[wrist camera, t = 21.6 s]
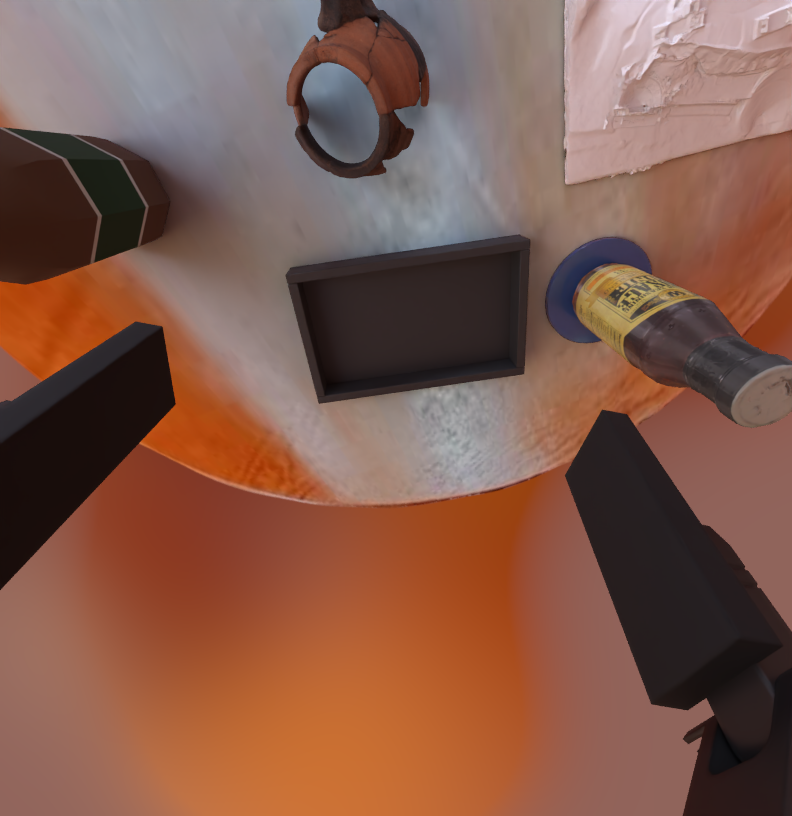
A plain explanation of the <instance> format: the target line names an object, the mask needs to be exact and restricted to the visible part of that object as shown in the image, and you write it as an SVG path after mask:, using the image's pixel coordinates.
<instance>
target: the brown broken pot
mask: <svg viewBox="0 0 792 816" xmlns="http://www.w3.org/2000/svg"><path fill="white" fill-rule="evenodd" d="M374 22H376V23H378V27H376V25H375V23H374ZM318 27H319V29H320V30H321V31H324V32H326V33H327V34H325V35H324V38H323V39H322V40H321V41H319V40H318V38H317V37H316V36H315V35H314V36H313V37H311V39H310V40H309V42H308V43H307V44H306V46H305V47H304V50H303V51H302V53H301V55H300V56H299V59H298V60H297V62H296V63H295V65H294V66H293V68H292V71H291V73H290V76H289V80H288V83H287V104H288V105H289V106H293V108H294V113H295V117H296V119H297V122H298V124H299V126H298V127H297V129H296V132H295V136H296V138H297V140H298V142H299V143H300V145H301V147H302V148H303V149H304V151H305V152H306V153H307V154H308V155H309V157H310V158H311V159H312V160H313V161H314V162H315V163H316V164H317V165H318V166H320V167H321V168H323V169H324V170H326V171H328V172H331V173H332V174H334V175H337V176H339V177H345V178H358V177H363V176H373V175H380V174H383V173H386V168H385V167H384V166H383V163H382V161H383V160H389V159H392V158H394V157H396V156H397V155H399V153H400V152H401V151H402V150H404V149H407V148H408V147H409V145H410V143H411V141H412V138H413V135H414V130H413V129H411V128H407V129H406V127H405V125H404V124H403V123H402V122H401V121H400V120H399V118H398V117H397V115H396V114H395V112H394V110H396V109H401V108H404V107H409V106H415V105H416V104H417V102H418V100H419V97H420V86H419V82H421V106H423V107H425V106H427V104H428V100H429V74H428V69H427V65H426V61H425V57H424V55H423V52H422V50H421V48H420V46H419V44H418V43H417V41H416V40H415V39H414V37H413V36H412V35H411V34H410V33H409V32H408V31H407V30H406V29H405V28H404V27H402V26H401V25H399V24H398V23H397V22H396V21H395V20H394V19H393V18H392V17H390V16H389V15H388V14H387V13H386V12H385V11H384V10H378V9H377V8H376V6H375V4H374V3H373V1H372V0H321V11H320V14H319V17H318ZM326 62H330V63H336V64H339V65H342V66H344V67H346V68H347V69H349V70H350V71H352V72H353V73H354V74H356V75H357V76H358V77H359V78H360V79H361V81H362V82H363V83H364V84H365V85H366V87H367V89H368V90H369V92H370V94H371V96H372V98H373V100H374V103H375V106H376V109H377V113H378V115H379V138H378V142H377V145H376V147H375V149H374V151H373V153H372V154H371V155H370V157H369V158H368V159H366V160H364V161H362V162H359V163H344V162H342V161H339V160H337V159H335V158H334V157H332V156H331V155H329V154H328V153H327V152H325V151H324V150H323V149H322V148H321V147H320V146H319V144H318V143H317V142H316V140H315V139H314V137H313V136H312V134H311V132H310V130H309V128H308V126H307V124H308V120H309V110H308V108H307V105H306V102H305V100H304V98H303V96H302V88H303V84H304V80H305V78H306V76H307V75H308V73H309V72H310V71H311V70H312V69H313V68H314V67H315V66H318V65H320V64H321V63H326Z"/></svg>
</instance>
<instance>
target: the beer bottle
mask: <svg viewBox="0 0 792 816" xmlns="http://www.w3.org/2000/svg"><path fill="white" fill-rule="evenodd" d="M169 204H170V201H169V199H168V197H167V195H166V193H165V191H164V189H163V188H162V186H161V184H160V182H159V180H158V178H157V176H156V175H155V173H154V171H153V169H152V167H151V165H150V163H149V161H147V160H145V159H143V158H141V157H139V156H137V155H135V154H133V153H131V152H130V151H128V150H126V149H124V148H122V147H120V146H118V145H116V144H114V143H112V142H110V141H108V140H106V139H101V138H97V137H90V136H80V135H71V134H61V133H51V132H41V131H31V130H22V129H12V128H2V127H0V281H2V282H10V283H18V284H30V283H34V282H38V281H42V280H47V279H50V278H53V277H55V276H58V275H61V274H64V273H67V272H69V271H72V270H75V269H78V268H81V267H83V266H86V265H89V264H92V263H95V262H97V261H100V260H103V259H105V258H108V257H111V256H114V255H116V254H119V253H122V252H124V251H127V250H130V249H133V248H135V247H138V246H141V245H144V244H146V243H149V242H152V241H154V240H156V239H158V238H160V237H162V234H163V230H164V225H165V221H166V217H167V213H168V209H169Z"/></svg>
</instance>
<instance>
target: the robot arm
mask: <svg viewBox="0 0 792 816" xmlns="http://www.w3.org/2000/svg"><path fill="white" fill-rule="evenodd" d="M175 404H176V403H175V397H174V392H173V386H172V380H171V374H170V368H169V362H168V356H167V351H166V345H165V339H164V333H163V327H162V326H156V325H151V324H146V323H140V322H134V323H133V324H131V325H130V326H128V327H127V328H125V329H123V330H122V331H120V332H119V333H117V334H116V335H114V336H113V337H111V338H109V339H108V340H106V341H105V342H103V343H102V344H100V345H99V346H97V347H95V348H94V349H92V350H91V351H89V352H88V353H86V354H84V355H83V356H81V357H80V358H78V359H77V360H75V361H74V362H72V363H70V364H69V365H67V366H66V367H64V368H63V369H61V370H60V371H58V372H56V373H55V374H53V375H52V376H50V377H49V378H47V379H45V380H44V381H42V382H41V383H39V384H38V385H36V386H35V387H33V388H31V389H30V390H28V391H27V392H25V393H24V394H22V395H21V396H19V397H18V398H16V399H14V400H13V401H8V400H6V401H4V402H1V403H0V590H1V589H2V588H3V587H4V585H5V584H6V583H7V582H8V581H9V580H10V579H11V578H12V577H13V576H14V575H15V574H16V573H17V572H18V571H19V570H20V569H21V567H22V566H23V565H24V564H25V563H26V562H27V561H28V560H29V559H30V558H31V557H32V556H33V555H34V554H35V553H36V552H37V550H39V548H40V547H41V546H42V545H43V544H44V543H45V542H46V541H47V540H48V539H49V538H50V537H51V536H52V535H53V534H54V532H55V531H56V530H57V529H58V528H59V527H60V526H61V525H62V524H63V523H64V522H65V521H66V520H67V518H69V517H70V515H72V513H73V512H74V511H75V510H76V509H77V508H78V507H79V506H80V505H81V504H82V503H83V502H84V501H85V500H86V499H87V498H88V496H89V495H90V494H91V493H92V492H93V491H94V490H95V489H96V488H97V487H98V486H99V485H100V484H101V483H102V482H103V481H104V480H105V478H107V476H108V475H109V474H110V473H111V472H112V471H113V470H114V469H115V468H116V467H117V466H118V465H119V464H120V463H121V462H122V460H123V459H124V458H125V457H126V456H127V455H128V454H129V453H130V452H131V451H132V450H133V449H134V448H135V447H136V446H137V445H138V444H139V443H140V441H141V440H142V439H143V438H144V437H145V436H146V435H147V434H148V433H149V432H150V431H151V430H152V429H153V428H154V427H155V426H156V425H157V423H158V422H159V421H160V420H161V419H162V418H163V417H164V416H165V415H166V414H167V413H168V412H169V411H170V410H171V409H172V408H173V407H174V405H175ZM565 477H566V479H567V482H568V485H569V487H570V490H571V493H572V495H573V498H574V501H575V503H576V506H577V509H578V511H579V514H580V517H581V519H582V522H583V524H584V527H585V530H586V532H587V535H588V538H589V540H590V543H591V546H592V548H593V551H594V554H595V556H596V559H597V562H598V564H599V567H600V569H601V572H602V575H603V577H604V580H605V583H606V585H607V588H608V590H609V593H610V596H611V599H612V601H613V604H614V606H615V609H616V612H617V614H618V617H619V620H620V622H621V625H622V627H623V630H624V633H625V636H626V638H627V641H628V644H629V646H630V649H631V652H632V654H633V657H634V659H635V662H636V665H637V667H638V670H639V673H640V675H641V678H642V680H643V683H644V685H645V688H646V691H647V694H648V696H649V699H650V701H651V704H653V705H659V706H665V707H671V708H677V709H683V710H689V709H690V708H692V707H693V706H695V705H696V704H698V703H699V702H701V701H702V700H704V699H705V698H707V700H708V702H709V704H710V706H711V708H712V710H713V712H714V714H715V715H714V716H712V717H711V718H709V719H708V720H706V721H704V722H703V723H701V724H699V725H698V726H696V727H695V728H693V729H691V730H690V731H688V732H687V734H686V735H685V736H684V738H683V740H684V741H686V742H687V743H688V744H689V743H691V742H693V741H695V740H696V739H698V738H700V737H702V740H701V744H700V748H699V750H698V751H697V752H698V756H697V760H696V764H695V768H694V772H693V776H692V780H691V784H690V788H689V793H688V797H687V801H686V805H685V809H684V813H683V816H792V632H791V630H790V629H789V628H788V626H787V625H786V623H785V622H784V620H783V619H782V618H781V616H780V615H779V613H778V612H777V611H776V609H775V608H774V606H773V605H772V604H771V602H770V601H769V599H768V598H767V596H766V595H765V594H764V592H763V591H762V590H761V588H758V587H757V582H756V581H755V580H754V578H753V577H752V575H751V574H750V573H749V571H747V570H745V569H744V568H745V566H744V564H743V563H742V561H741V560H740V559H739V557H738V556H737V554H736V553H735V552H734V550H733V549H732V547H731V546H730V545H729V544H728V543H727V542H726V541H725V540H724V539H723V538H722V537H720V536H719V535H718V534H717V533H716V532H715V531H714V530H713V529H712V528H711V527H710V526H706V525H702V524H701V523H700V521H699V520H698V519H697V517H696V516H695V514H694V513H693V511H692V510H691V509H690V507H689V505H688V504H687V503H686V501H685V499H684V498H683V496H682V495H681V493H680V492H679V490H678V489H677V488H676V486H675V485H674V483H673V482H672V480H671V479H670V477H669V476H668V474H667V473H666V471H665V470H664V468H663V467H662V465H661V464H660V462H659V461H658V459H657V458H656V457H655V455H654V454H653V452H652V451H651V449H650V448H649V446H648V445H647V443H646V442H645V440H644V439H643V437H642V436H641V434H640V433H639V431H638V430H637V428H636V427H635V425H634V424H633V423H632V421H631V420H630V418H629V417H628V415H627V414H622V413H617V412H612V411H606V410H602V411H601V413H600V415H599V416H598V418H597V420H596V422H595V423H594V425H593V427H592V429H591V430H590V432H589V434H588V436H587V438H586V439H585V441H584V443H583V445H582V446H581V448H580V450H579V452H578V453H577V455H576V457H575V459H574V460H573V462H572V464H571V466H570V468H569V469H568V471H567V473H566V475H565Z"/></svg>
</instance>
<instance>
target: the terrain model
mask: <svg viewBox="0 0 792 816" xmlns="http://www.w3.org/2000/svg"><path fill="white" fill-rule="evenodd" d="M564 16H565V19H564V24H565V25H564V26H565V31H564V35H565V36H564V37H565V39H564V40H565V51H564V52H565V53H564V56H565V57H564V61H565V66H564V86H565V87H564V88H565V90H566V91H565V93H564V95H565V96H564V103H565V109H566V111H565V112H564V113H565V116H564V119H565V123H566V125H565V131H566V133H565V137H564V140H563V141H564V152H565V148H566V149H567V150H566V151H567V153H566V154H567V155H566V161H565V162H564V163H565V184H567V185H571V184H573V185H574V184H576V183H577V184H578V183H581V182H585V181H589V180H594V179H596V180H597V179H600V178H602V177H609V176H610V175H611V176H612V177H611V178H610V179H612V178H613V177H614V176H615V175H617V174H622V173H624V172H626V171H627V173H628V172H629V173H630V174H629V175H631V173H632V175H633V174H634V173H636V172H638V171H645V170H646V169H648V170H649V169H650V168H651V166H652V165H656V164H658V163H660V164H662V163H663V162H664V161H670V160H671V159H673V158H677V157H683V156H686V155H689V154H694V153H698V152H703V151H706V150H710V149H712V148H716V147H721V146H726V145H729V144H733V143H736V142H740V141H744V140H748V139H753V138H757V137H761V136H766V135H771V134H776V133H777V134H779V133H782V132H786V131H790V130H792V0H565V11H564ZM644 105H645V107H643V106H644ZM564 158H565V157H564ZM631 171H632V172H631ZM623 175H624V174H623Z"/></svg>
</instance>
